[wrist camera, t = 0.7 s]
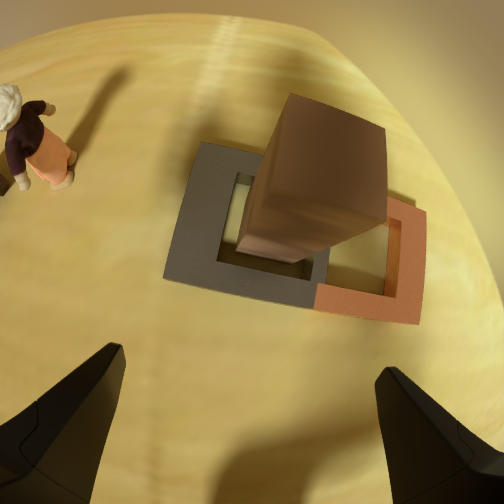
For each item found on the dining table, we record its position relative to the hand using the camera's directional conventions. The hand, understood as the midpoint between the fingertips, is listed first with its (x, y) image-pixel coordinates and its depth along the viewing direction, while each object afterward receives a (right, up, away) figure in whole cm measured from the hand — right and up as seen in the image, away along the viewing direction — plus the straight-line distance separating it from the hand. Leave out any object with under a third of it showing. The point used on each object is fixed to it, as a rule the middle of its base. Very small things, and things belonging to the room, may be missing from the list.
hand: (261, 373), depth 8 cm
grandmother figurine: (-18, +11, +12) cm, 24 cm away
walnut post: (+1, +6, +14) cm, 15 cm away
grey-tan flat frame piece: (+5, +5, +15) cm, 16 cm away
